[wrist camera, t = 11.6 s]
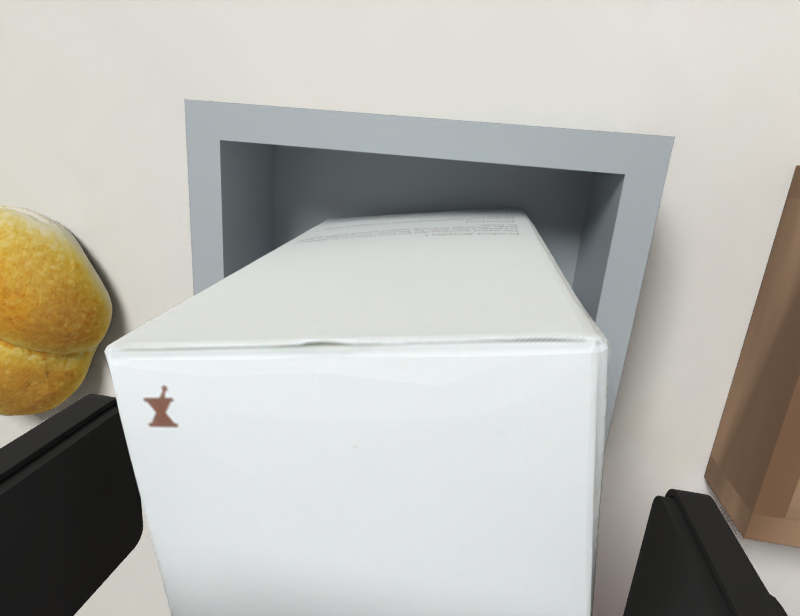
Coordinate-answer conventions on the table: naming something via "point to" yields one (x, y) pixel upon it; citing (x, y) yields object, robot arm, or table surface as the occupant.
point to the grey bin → (427, 190)
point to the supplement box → (374, 426)
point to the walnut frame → (766, 402)
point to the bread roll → (45, 312)
